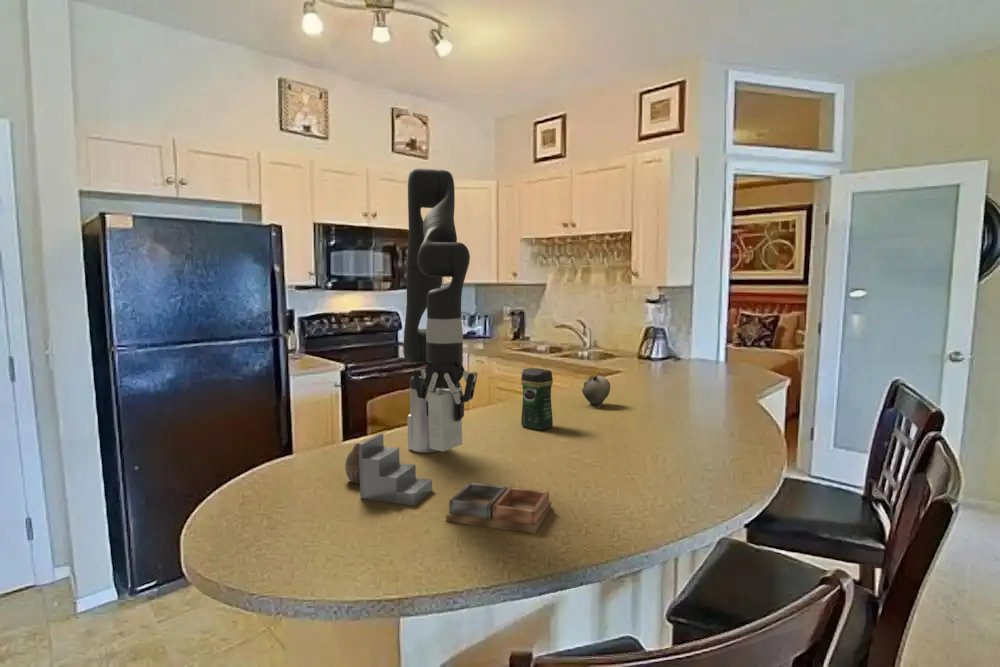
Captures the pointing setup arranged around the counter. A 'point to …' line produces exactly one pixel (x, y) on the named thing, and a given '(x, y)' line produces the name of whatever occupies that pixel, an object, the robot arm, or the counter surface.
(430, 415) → the skincare box
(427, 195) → the robot arm
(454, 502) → the divided tray
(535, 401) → the coffee jar
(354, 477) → the vase
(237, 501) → the counter surface
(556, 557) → the counter surface
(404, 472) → the gray stair step block
